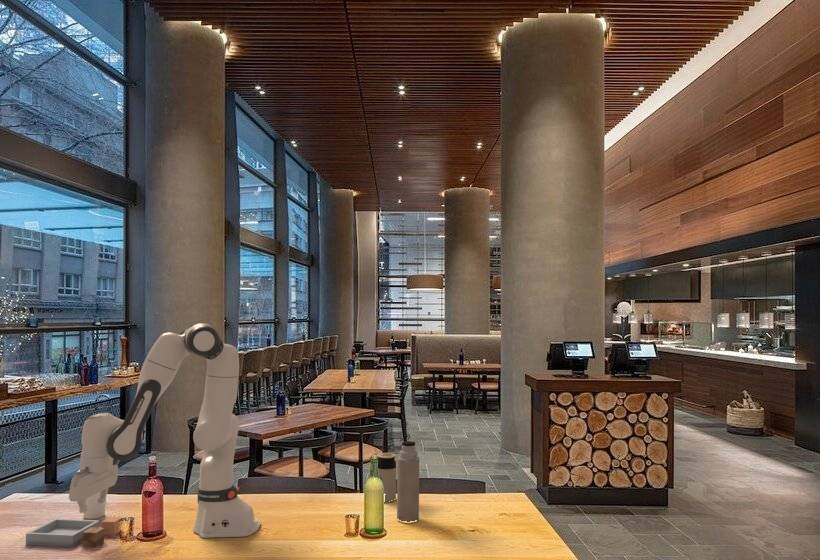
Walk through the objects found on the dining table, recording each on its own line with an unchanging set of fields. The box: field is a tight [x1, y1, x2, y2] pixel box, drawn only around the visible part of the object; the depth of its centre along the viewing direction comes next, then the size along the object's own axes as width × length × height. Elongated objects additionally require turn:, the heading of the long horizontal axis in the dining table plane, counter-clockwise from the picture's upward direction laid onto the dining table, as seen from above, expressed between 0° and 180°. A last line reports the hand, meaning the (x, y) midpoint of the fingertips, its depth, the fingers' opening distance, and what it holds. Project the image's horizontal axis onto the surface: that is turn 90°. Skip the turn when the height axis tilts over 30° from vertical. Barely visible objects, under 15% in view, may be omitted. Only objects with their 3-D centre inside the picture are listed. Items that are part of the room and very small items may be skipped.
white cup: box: [83, 492, 108, 520], centre depth 219 cm, size 8×8×10 cm
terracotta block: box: [100, 516, 123, 536], centre depth 202 cm, size 4×4×4 cm
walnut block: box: [81, 527, 105, 548], centre depth 192 cm, size 4×4×4 cm
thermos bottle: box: [396, 440, 420, 522], centre depth 218 cm, size 8×8×28 cm
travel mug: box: [377, 452, 397, 502], centre depth 240 cm, size 8×8×18 cm
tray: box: [25, 518, 101, 548], centre depth 198 cm, size 16×14×4 cm
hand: (92, 507), depth 193 cm, fingers open, 8 cm apart
